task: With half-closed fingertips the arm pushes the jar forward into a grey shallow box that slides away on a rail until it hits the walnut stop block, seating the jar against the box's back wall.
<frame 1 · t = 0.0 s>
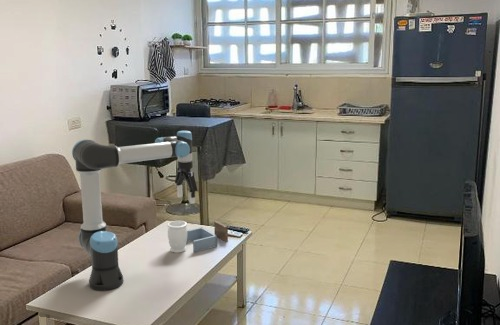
hand: (186, 200, 256), 28 cm above the table, fingers open, 13 cm apart
jar: (178, 250, 262), on the table
stop block: (221, 238, 278), on the table
grey shallow box: (198, 239, 268), point 3 cm above the table, slide at 0.0 cm
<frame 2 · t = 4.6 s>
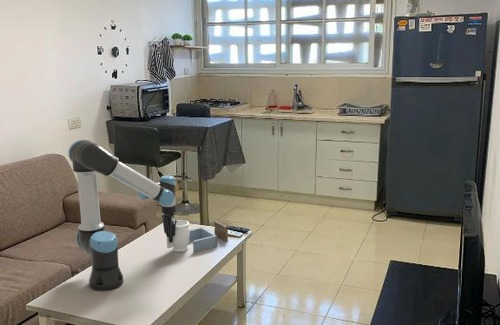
hand: (169, 247, 259), 3 cm above the table, fingers closed
jar: (180, 249, 263), on the table
everything else where it was.
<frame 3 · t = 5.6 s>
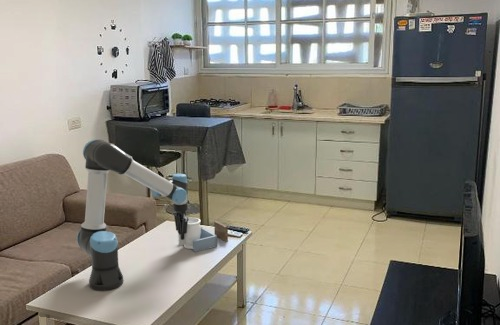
hand: (181, 244, 263), 3 cm above the table, fingers closed
jar: (191, 246, 267), on the table, touching gripper
everything else where it was.
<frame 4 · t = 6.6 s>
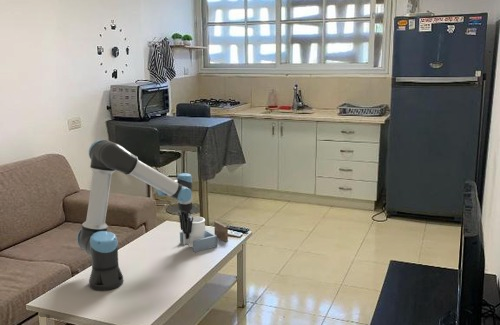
hand: (186, 243, 264), 2 cm above the table, fingers closed
jar: (196, 245, 269), on the table, touching gripper
everything else where it was.
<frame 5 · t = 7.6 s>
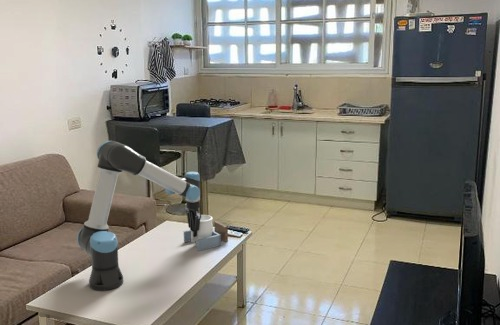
hand: (194, 241, 267), 3 cm above the table, fingers closed
jar: (203, 243, 271), on the table, touching grey shallow box, gripper
grey shallow box: (202, 238, 270), point 3 cm above the table, slide at 2.4 cm, touching jar
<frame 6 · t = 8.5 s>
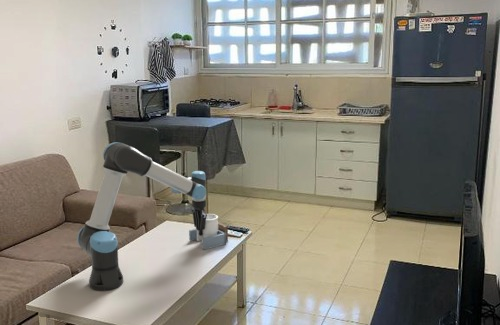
hand: (199, 240, 269), 2 cm above the table, fingers closed
jar: (209, 242, 273), on the table, touching grey shallow box, gripper
grey shallow box: (207, 236, 272), point 3 cm above the table, slide at 5.8 cm, touching jar
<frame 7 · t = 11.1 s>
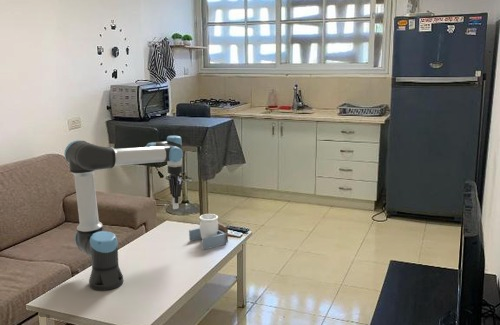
hand: (175, 208, 259), 23 cm above the table, fingers closed
jar: (209, 242, 273), on the table, touching grey shallow box
everything else where it was.
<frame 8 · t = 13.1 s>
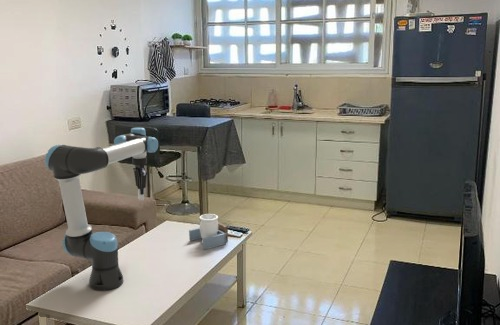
hand: (141, 199, 262), 26 cm above the table, fingers closed
nothing on the table moved.
at the end: grey shallow box slide at 5.9 cm; jar inside the target area on the grey shallow box (1.0 cm from its centre), point 0.0 cm above the grey shallow box's base; jar tilted 0° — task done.
